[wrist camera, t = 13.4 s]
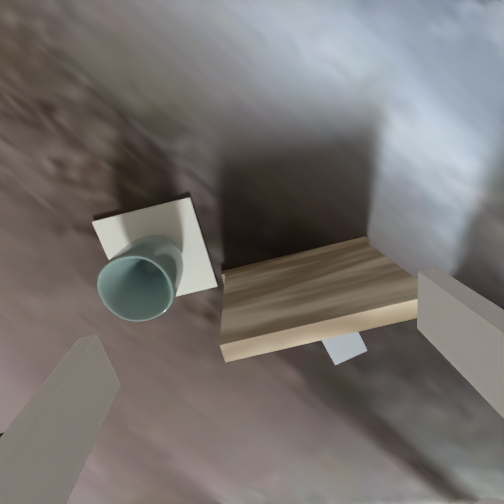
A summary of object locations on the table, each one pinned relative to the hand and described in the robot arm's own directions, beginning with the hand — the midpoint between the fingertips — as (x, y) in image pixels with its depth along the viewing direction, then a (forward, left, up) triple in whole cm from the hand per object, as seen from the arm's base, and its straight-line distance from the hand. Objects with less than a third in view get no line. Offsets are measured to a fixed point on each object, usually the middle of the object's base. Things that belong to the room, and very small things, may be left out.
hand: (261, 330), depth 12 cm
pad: (+4, -13, -28) cm, 31 cm away
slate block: (+22, +9, -28) cm, 37 cm away
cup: (+4, -13, -28) cm, 31 cm away
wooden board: (+10, +5, -28) cm, 30 cm away
